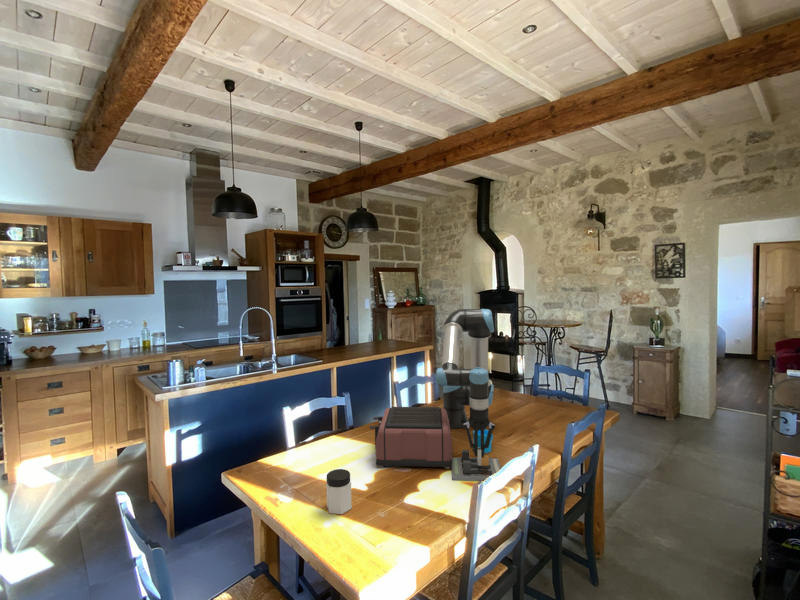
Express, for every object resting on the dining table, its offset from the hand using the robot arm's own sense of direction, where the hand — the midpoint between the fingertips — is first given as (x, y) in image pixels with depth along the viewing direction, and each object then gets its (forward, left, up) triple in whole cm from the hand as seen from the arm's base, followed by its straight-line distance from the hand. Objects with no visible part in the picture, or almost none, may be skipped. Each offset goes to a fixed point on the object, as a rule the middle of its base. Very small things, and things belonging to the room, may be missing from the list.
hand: (479, 463), depth 166 cm
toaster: (-16, -29, -4) cm, 33 cm away
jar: (+30, -51, -3) cm, 59 cm away
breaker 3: (0, +2, -1) cm, 2 cm away
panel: (0, -1, -3) cm, 3 cm away
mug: (-23, +5, -3) cm, 24 cm away
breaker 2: (+5, -5, -1) cm, 7 cm away
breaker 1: (-5, -5, -1) cm, 7 cm away
